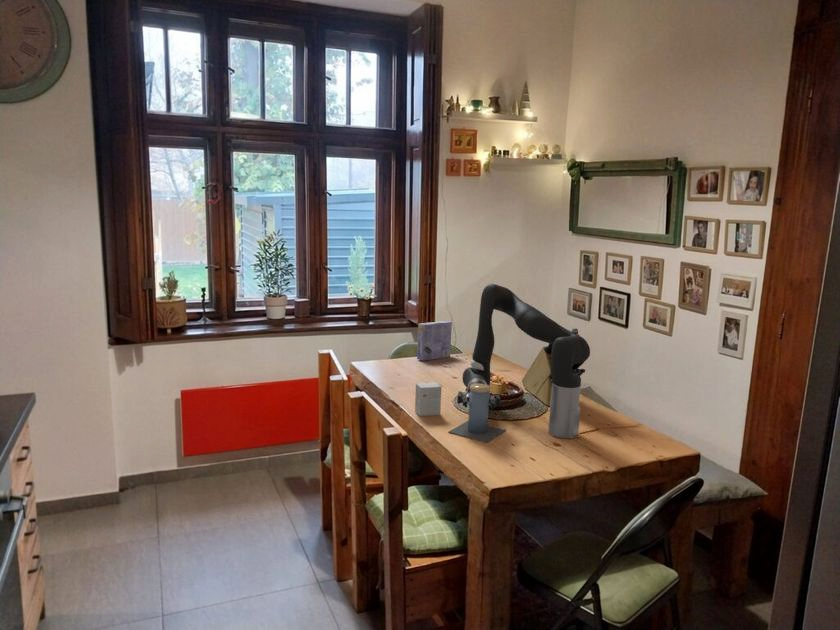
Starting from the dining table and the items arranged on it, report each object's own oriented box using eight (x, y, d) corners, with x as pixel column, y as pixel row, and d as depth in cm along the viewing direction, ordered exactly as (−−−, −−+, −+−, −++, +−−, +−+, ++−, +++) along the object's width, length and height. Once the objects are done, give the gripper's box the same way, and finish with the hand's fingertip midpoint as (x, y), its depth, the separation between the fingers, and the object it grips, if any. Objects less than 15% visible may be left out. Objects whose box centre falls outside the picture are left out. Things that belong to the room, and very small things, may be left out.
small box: (435, 409, 229) (436, 381, 228) (440, 414, 224) (442, 386, 222) (414, 411, 227) (415, 383, 225) (419, 416, 222) (420, 387, 220)
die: (483, 377, 277) (495, 359, 279) (467, 366, 278) (479, 348, 280) (481, 378, 285) (492, 361, 287) (465, 368, 286) (476, 350, 288)
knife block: (556, 414, 229) (563, 332, 224) (520, 386, 263) (526, 314, 258) (584, 414, 232) (592, 332, 226) (545, 386, 266) (551, 314, 260)
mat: (505, 430, 211) (505, 429, 211) (486, 443, 200) (486, 441, 200) (469, 421, 219) (469, 420, 219) (448, 432, 207) (448, 431, 207)
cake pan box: (445, 354, 313) (447, 319, 310) (452, 356, 309) (454, 321, 306) (415, 359, 301) (417, 323, 298) (422, 361, 297) (424, 325, 294)
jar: (490, 429, 211) (493, 385, 208) (482, 435, 205) (485, 390, 202) (472, 425, 214) (474, 382, 211) (464, 431, 208) (466, 387, 205)
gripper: (458, 379, 221) (458, 393, 205) (498, 381, 220) (501, 395, 204) (457, 399, 222) (456, 415, 207) (497, 402, 222) (500, 417, 206)
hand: (479, 405), depth 206 cm, fingers open, 8 cm apart
